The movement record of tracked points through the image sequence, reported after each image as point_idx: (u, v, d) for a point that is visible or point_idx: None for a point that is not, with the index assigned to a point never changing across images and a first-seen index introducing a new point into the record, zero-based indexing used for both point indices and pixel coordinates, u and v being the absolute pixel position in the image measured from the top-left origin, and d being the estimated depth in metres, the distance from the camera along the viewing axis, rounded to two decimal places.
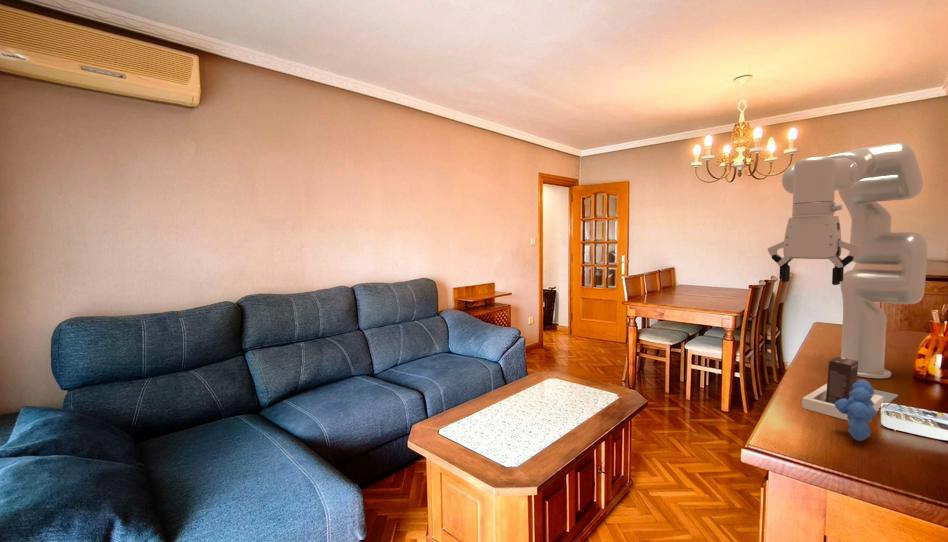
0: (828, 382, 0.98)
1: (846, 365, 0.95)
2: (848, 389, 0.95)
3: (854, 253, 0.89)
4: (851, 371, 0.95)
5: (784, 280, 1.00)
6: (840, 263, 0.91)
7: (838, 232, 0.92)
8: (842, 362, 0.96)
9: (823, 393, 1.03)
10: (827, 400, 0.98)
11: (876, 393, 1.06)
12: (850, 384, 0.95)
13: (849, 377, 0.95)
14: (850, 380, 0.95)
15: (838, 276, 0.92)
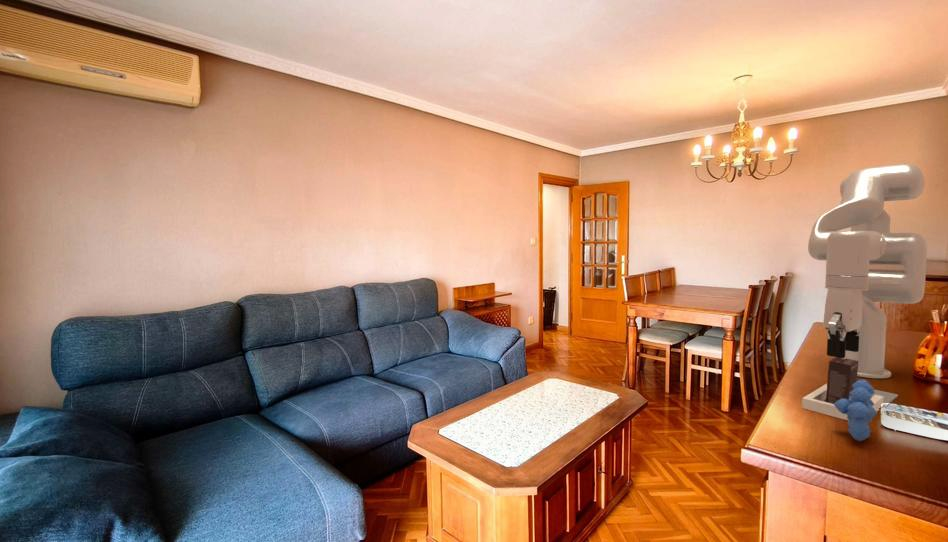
0: (828, 382, 0.98)
1: (846, 366, 0.95)
2: (848, 389, 0.95)
3: None
4: (851, 371, 0.95)
5: None
6: (858, 331, 0.99)
7: None
8: (842, 362, 0.96)
9: (823, 393, 1.03)
10: (827, 400, 0.98)
11: (876, 393, 1.06)
12: (850, 384, 0.95)
13: (849, 377, 0.95)
14: (850, 380, 0.95)
15: None
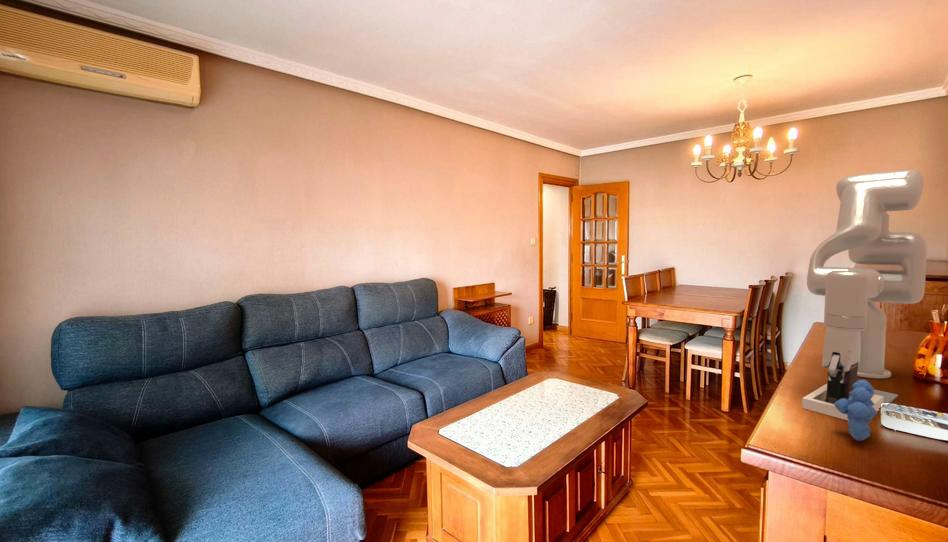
0: None
1: None
2: (848, 389, 0.95)
3: None
4: (851, 371, 0.95)
5: None
6: None
7: None
8: None
9: (823, 393, 1.03)
10: (827, 400, 0.98)
11: (876, 393, 1.06)
12: (850, 384, 0.95)
13: (849, 377, 0.95)
14: (850, 380, 0.95)
15: None
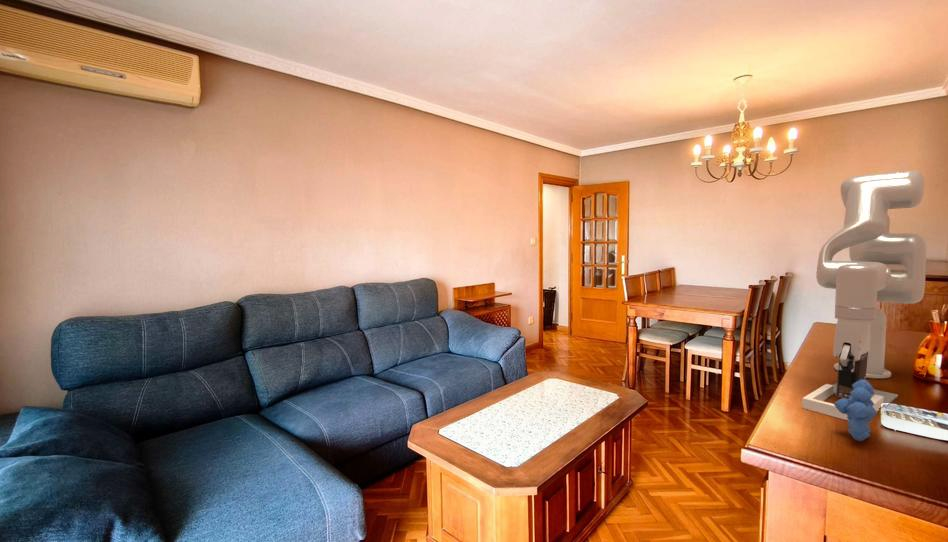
0: None
1: None
2: (858, 378, 0.99)
3: None
4: (861, 360, 0.99)
5: None
6: None
7: None
8: None
9: (823, 393, 1.03)
10: (838, 388, 1.03)
11: (876, 393, 1.06)
12: (860, 373, 0.99)
13: (859, 366, 0.99)
14: (860, 369, 0.99)
15: None
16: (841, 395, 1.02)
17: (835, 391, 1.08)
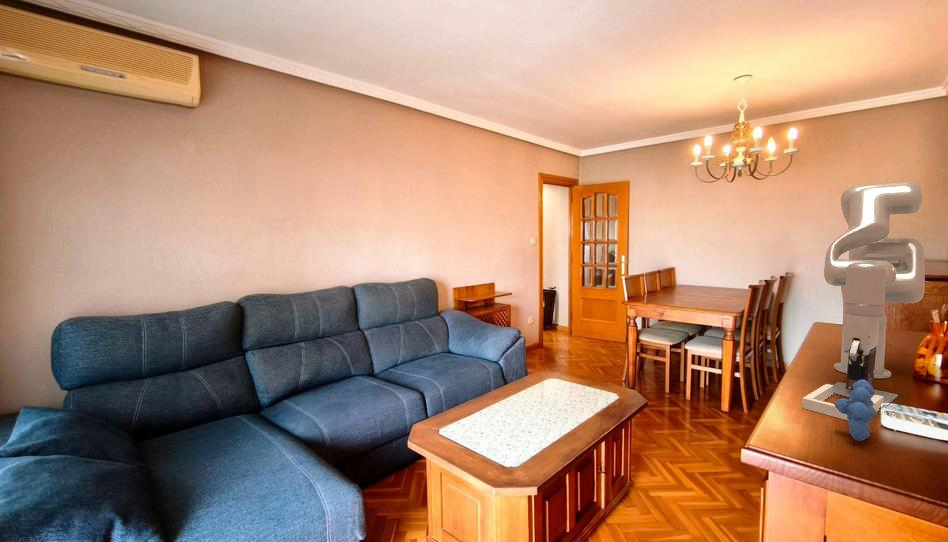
0: (848, 365, 1.06)
1: None
2: (867, 371, 1.03)
3: None
4: (870, 355, 1.03)
5: None
6: None
7: None
8: None
9: (823, 393, 1.03)
10: (847, 382, 1.07)
11: (876, 393, 1.06)
12: (869, 367, 1.03)
13: (868, 360, 1.03)
14: (869, 363, 1.03)
15: None
16: (850, 388, 1.06)
17: (835, 391, 1.08)
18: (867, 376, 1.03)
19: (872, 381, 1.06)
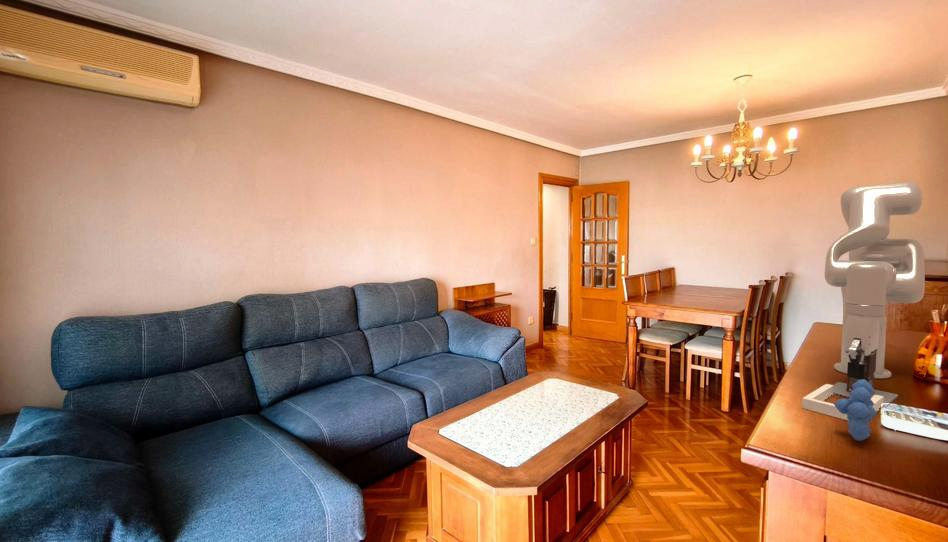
0: None
1: None
2: (868, 374, 1.04)
3: None
4: (871, 357, 1.04)
5: None
6: None
7: None
8: None
9: (823, 393, 1.03)
10: (848, 384, 1.07)
11: (876, 393, 1.06)
12: (870, 369, 1.04)
13: (869, 363, 1.03)
14: (870, 365, 1.04)
15: None
16: None
17: (835, 391, 1.08)
18: (868, 378, 1.04)
19: (872, 383, 1.06)
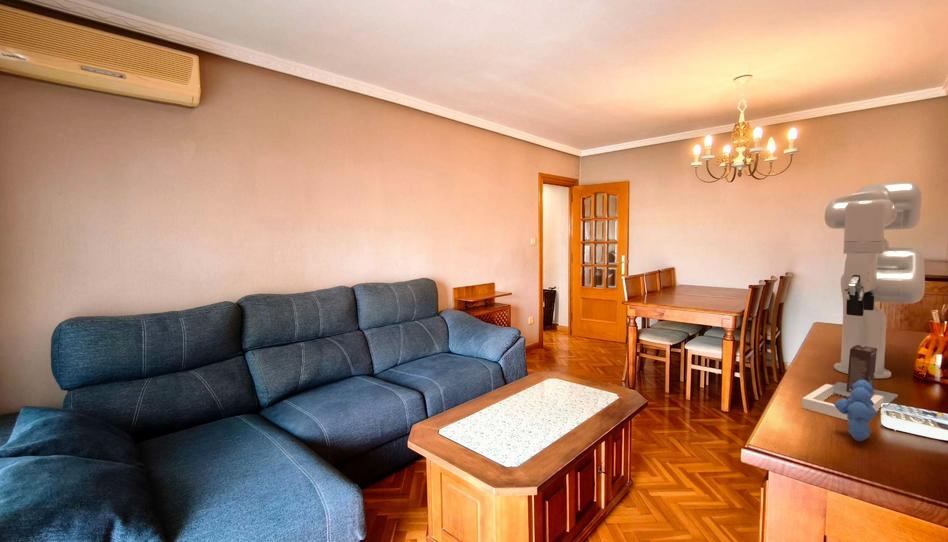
0: (849, 368, 1.07)
1: (866, 352, 1.04)
2: (868, 374, 1.04)
3: None
4: (871, 357, 1.04)
5: None
6: (873, 291, 1.09)
7: None
8: (862, 349, 1.05)
9: (823, 393, 1.03)
10: (848, 384, 1.07)
11: (876, 393, 1.06)
12: (870, 369, 1.04)
13: (869, 363, 1.03)
14: (870, 365, 1.04)
15: None
16: None
17: (835, 391, 1.08)
18: (868, 378, 1.04)
19: (872, 384, 1.06)
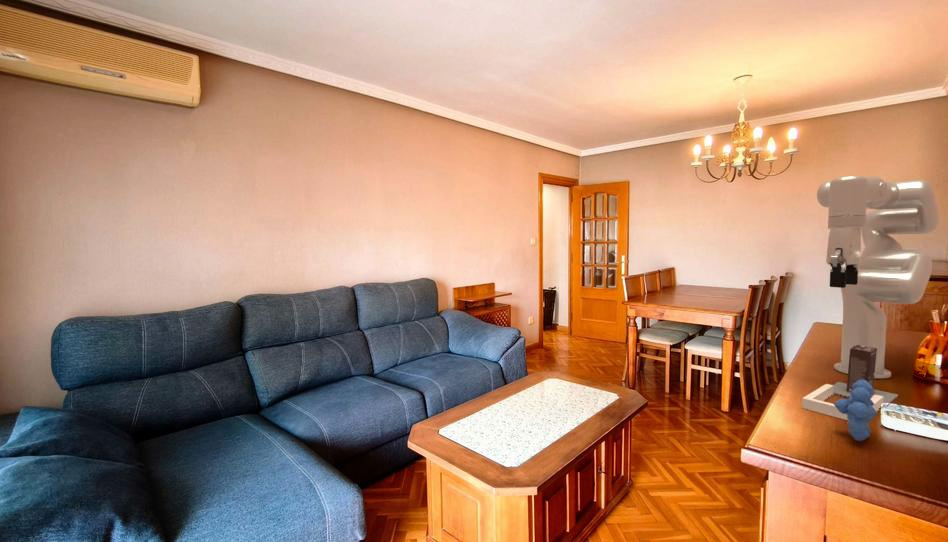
0: (849, 368, 1.07)
1: (866, 352, 1.04)
2: (868, 374, 1.04)
3: None
4: (871, 357, 1.04)
5: None
6: (857, 266, 1.12)
7: None
8: (862, 349, 1.05)
9: (823, 393, 1.03)
10: (848, 384, 1.07)
11: (876, 393, 1.06)
12: (870, 369, 1.04)
13: (869, 363, 1.03)
14: (870, 365, 1.04)
15: None
16: None
17: (835, 391, 1.08)
18: (868, 378, 1.04)
19: (872, 383, 1.06)
